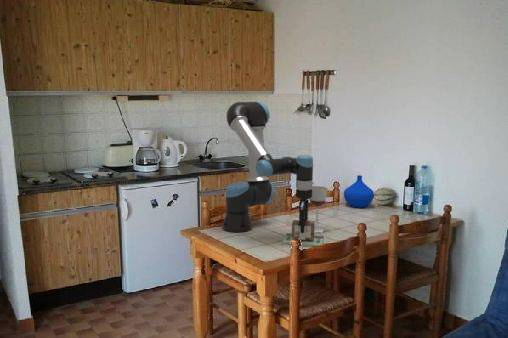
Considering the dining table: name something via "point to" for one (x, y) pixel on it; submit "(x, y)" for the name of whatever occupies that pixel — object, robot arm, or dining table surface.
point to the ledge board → (316, 242)
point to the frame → (309, 229)
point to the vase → (358, 194)
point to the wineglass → (318, 201)
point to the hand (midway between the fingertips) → (303, 237)
